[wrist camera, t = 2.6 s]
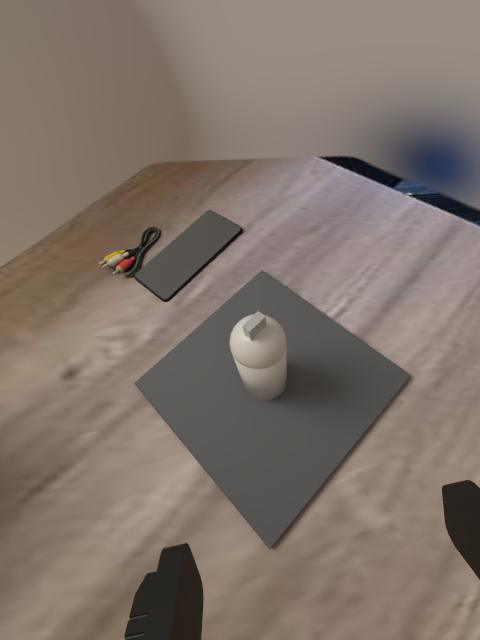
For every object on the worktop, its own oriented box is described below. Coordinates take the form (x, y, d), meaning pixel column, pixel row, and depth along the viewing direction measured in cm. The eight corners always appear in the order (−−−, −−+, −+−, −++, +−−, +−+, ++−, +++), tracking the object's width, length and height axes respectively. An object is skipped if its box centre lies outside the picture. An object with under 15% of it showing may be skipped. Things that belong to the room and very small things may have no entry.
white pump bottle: (235, 380, 33) (209, 323, 22) (264, 351, 34) (253, 284, 23) (265, 410, 31) (254, 364, 20) (295, 378, 32) (299, 318, 21)
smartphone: (131, 275, 42) (208, 208, 46) (134, 279, 43) (210, 213, 47) (164, 302, 39) (243, 227, 43) (167, 305, 40) (244, 232, 44)
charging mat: (136, 385, 34) (134, 383, 34) (262, 273, 40) (262, 270, 39) (269, 547, 26) (269, 548, 25) (408, 377, 31) (410, 375, 30)
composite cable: (153, 228, 47) (147, 215, 45) (175, 241, 45) (169, 228, 43) (103, 272, 44) (93, 260, 42) (124, 288, 42) (115, 277, 40)
